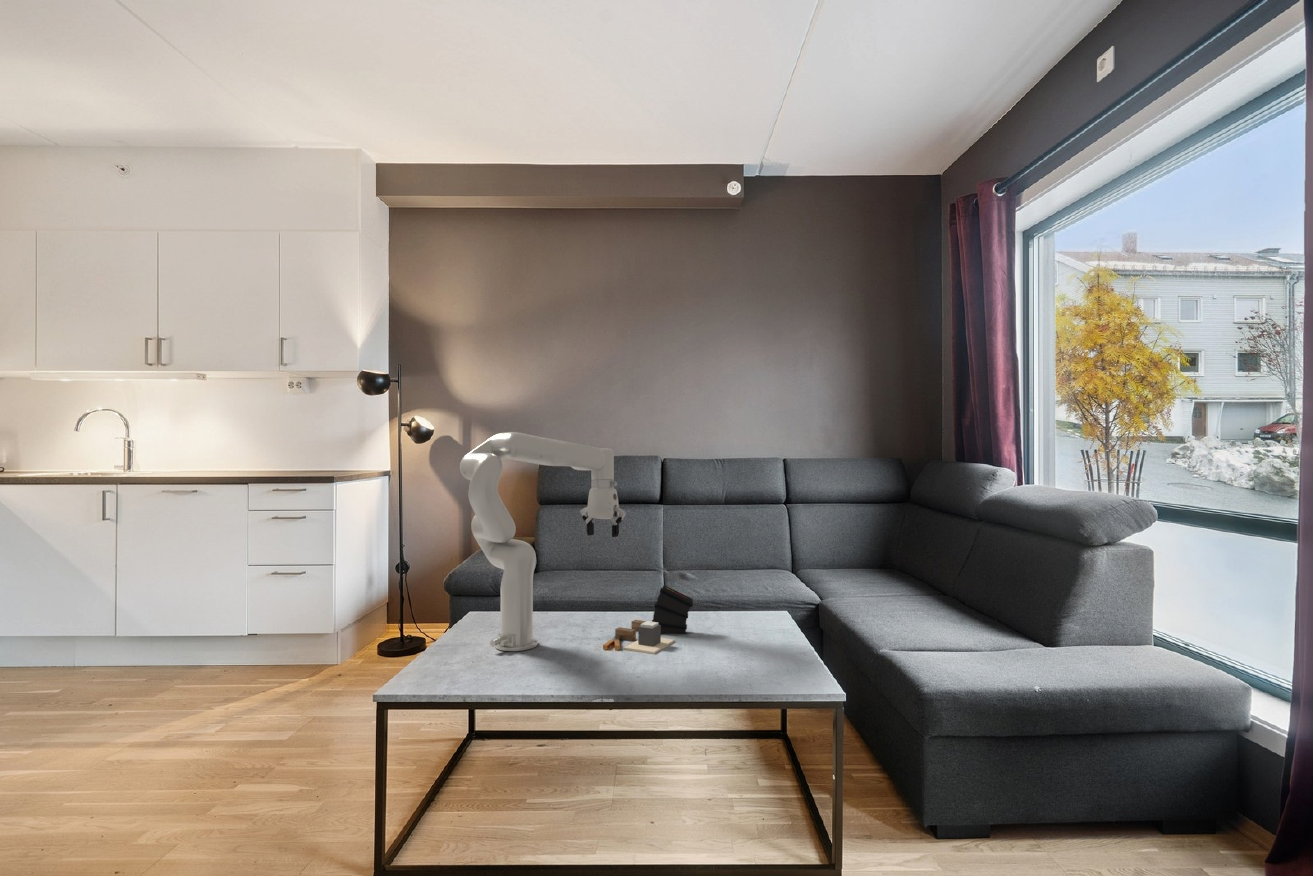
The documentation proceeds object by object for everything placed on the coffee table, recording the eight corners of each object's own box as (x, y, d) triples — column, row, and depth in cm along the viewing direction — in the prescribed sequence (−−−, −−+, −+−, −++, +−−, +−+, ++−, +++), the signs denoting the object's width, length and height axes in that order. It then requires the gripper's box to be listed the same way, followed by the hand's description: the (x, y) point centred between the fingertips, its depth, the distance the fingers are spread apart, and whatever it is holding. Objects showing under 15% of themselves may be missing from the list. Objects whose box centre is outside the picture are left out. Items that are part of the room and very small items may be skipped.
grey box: (653, 646, 192) (653, 626, 192) (638, 644, 194) (638, 624, 195) (660, 642, 197) (660, 622, 197) (646, 640, 199) (646, 620, 199)
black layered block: (643, 625, 212) (662, 584, 212) (679, 643, 211) (699, 602, 211) (642, 628, 208) (662, 586, 208) (679, 646, 208) (699, 604, 208)
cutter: (619, 650, 191) (619, 645, 191) (602, 650, 191) (602, 645, 191) (625, 639, 202) (625, 635, 202) (609, 639, 202) (609, 634, 202)
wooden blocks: (632, 641, 200) (632, 631, 200) (615, 638, 203) (615, 629, 203) (651, 631, 212) (651, 621, 212) (635, 628, 214) (635, 619, 214)
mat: (654, 654, 187) (654, 652, 187) (624, 649, 191) (624, 647, 191) (674, 641, 199) (674, 639, 199) (646, 637, 204) (646, 635, 204)
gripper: (630, 484, 218) (630, 536, 217) (587, 484, 225) (587, 533, 225) (619, 485, 211) (619, 538, 211) (574, 485, 219) (574, 535, 218)
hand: (602, 535), depth 218 cm, fingers open, 9 cm apart
